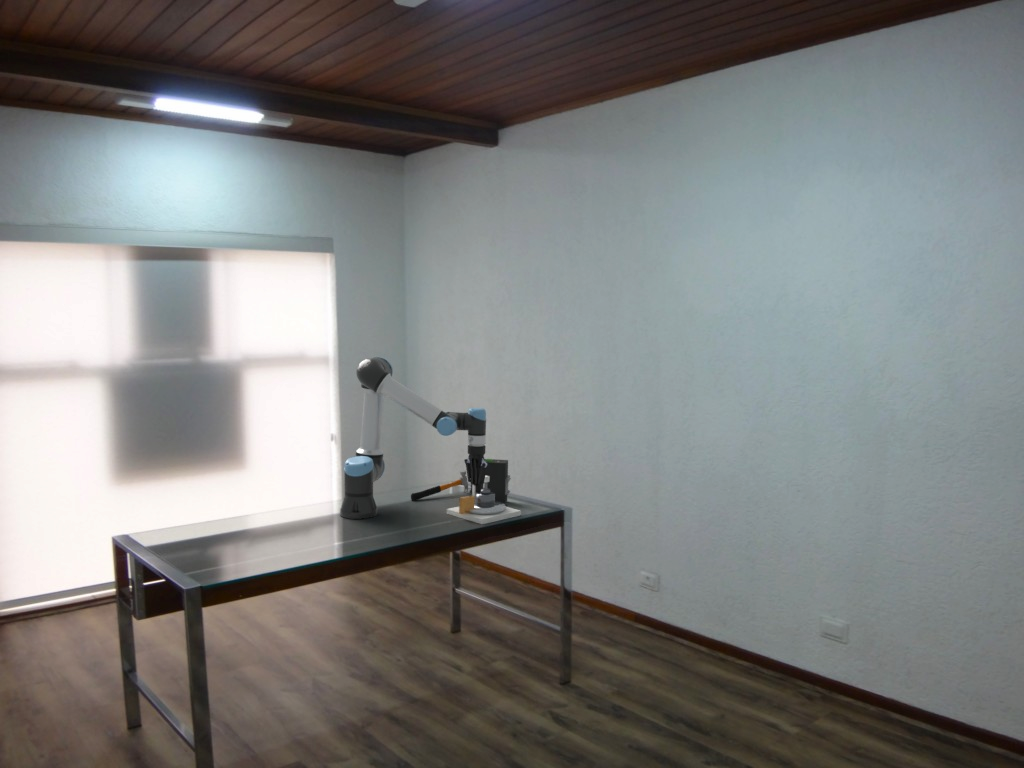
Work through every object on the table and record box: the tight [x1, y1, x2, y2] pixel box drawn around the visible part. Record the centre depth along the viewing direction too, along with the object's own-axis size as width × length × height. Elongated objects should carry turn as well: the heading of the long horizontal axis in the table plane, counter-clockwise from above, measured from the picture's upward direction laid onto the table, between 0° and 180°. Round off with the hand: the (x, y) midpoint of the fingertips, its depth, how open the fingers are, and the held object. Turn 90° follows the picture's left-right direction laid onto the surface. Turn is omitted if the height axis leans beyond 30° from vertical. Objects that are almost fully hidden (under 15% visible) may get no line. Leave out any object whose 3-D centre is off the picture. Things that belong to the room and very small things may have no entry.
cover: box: [476, 488, 495, 508], centre depth 338 cm, size 8×8×7 cm
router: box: [468, 458, 512, 505], centre depth 360 cm, size 8×18×20 cm, turn 82°
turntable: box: [458, 495, 506, 515], centre depth 338 cm, size 18×22×7 cm
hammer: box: [410, 469, 469, 502], centre depth 369 cm, size 11×4×30 cm
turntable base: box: [446, 475, 522, 525], centre depth 339 cm, size 22×22×14 cm
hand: (475, 499), depth 343 cm, fingers closed
